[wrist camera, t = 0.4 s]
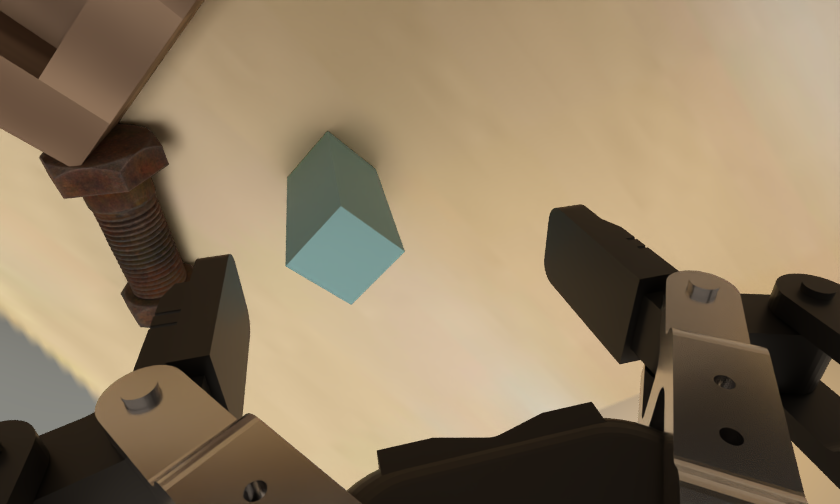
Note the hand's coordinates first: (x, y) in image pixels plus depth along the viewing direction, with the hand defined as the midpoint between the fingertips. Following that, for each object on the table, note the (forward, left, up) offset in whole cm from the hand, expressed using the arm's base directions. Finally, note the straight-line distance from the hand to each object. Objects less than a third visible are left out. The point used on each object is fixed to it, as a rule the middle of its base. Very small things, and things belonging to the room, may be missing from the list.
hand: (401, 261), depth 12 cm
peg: (+5, +4, -20) cm, 20 cm away
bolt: (+16, -2, -20) cm, 25 cm away
